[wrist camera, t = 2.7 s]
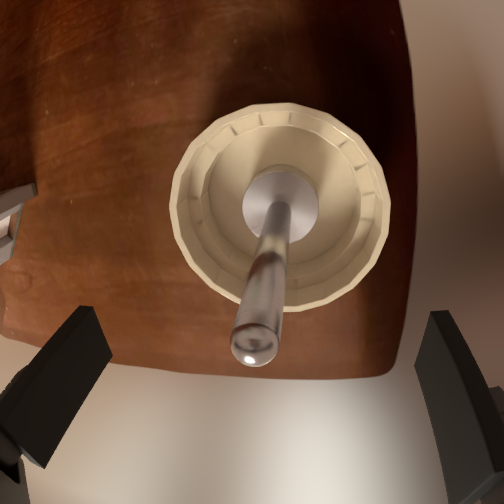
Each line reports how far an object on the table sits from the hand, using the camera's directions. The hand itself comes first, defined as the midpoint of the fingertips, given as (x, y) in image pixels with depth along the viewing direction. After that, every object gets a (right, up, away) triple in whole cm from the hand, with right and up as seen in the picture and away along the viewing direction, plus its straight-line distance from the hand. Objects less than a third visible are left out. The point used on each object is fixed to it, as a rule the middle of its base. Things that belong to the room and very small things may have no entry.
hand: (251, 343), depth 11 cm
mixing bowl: (+3, +8, +17) cm, 19 cm away
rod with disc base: (+3, +8, +16) cm, 18 cm away
